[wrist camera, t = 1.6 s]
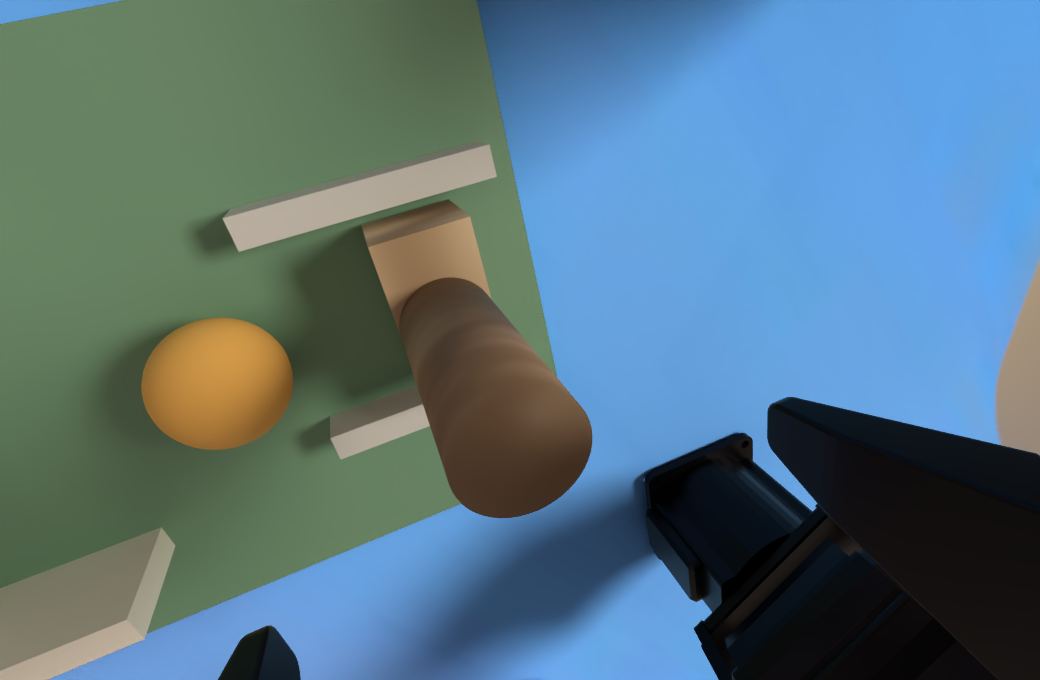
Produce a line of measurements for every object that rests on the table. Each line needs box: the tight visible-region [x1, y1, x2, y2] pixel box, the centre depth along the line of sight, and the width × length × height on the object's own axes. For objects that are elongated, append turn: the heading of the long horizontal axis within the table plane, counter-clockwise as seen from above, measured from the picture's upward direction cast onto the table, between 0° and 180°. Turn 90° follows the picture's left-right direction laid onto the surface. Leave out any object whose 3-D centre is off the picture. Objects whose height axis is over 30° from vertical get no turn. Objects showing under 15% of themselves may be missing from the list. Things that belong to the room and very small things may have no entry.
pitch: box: [0, 0, 557, 633], centre depth 18 cm, size 23×20×2 cm
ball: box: [141, 317, 293, 450], centre depth 16 cm, size 4×4×4 cm
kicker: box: [361, 199, 592, 518], centre depth 15 cm, size 3×6×10 cm, turn 12°
